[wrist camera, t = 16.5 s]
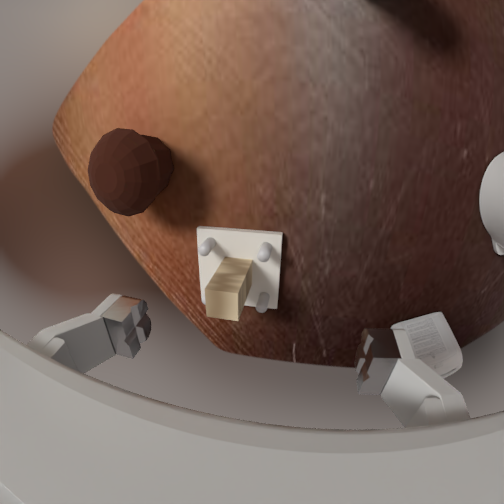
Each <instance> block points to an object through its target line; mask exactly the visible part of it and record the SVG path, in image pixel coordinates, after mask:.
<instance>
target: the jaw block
mask: <svg viewBox="0 0 504 504" xmlns="http://www.w3.org/2000/svg"><path fill="white" fill-rule="evenodd" d="M251 285H252V260H251V259H241V258H231V257H225V258H224V259H223V261H222V262H221V264H220V265H219V267H218V269H217V270H216V272H215V273H214V275H213V276H212V278H211V280H210V281H209V283H208V284H207V286H206V288H205V302H206V314H207V317H214V318H220V319H227V320H234V321H238V320H239V318H240V315H241V312H242V310H243V307H244V304H245V301H246V299H247V296H248V293H249V291H250V288H251Z"/></svg>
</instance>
